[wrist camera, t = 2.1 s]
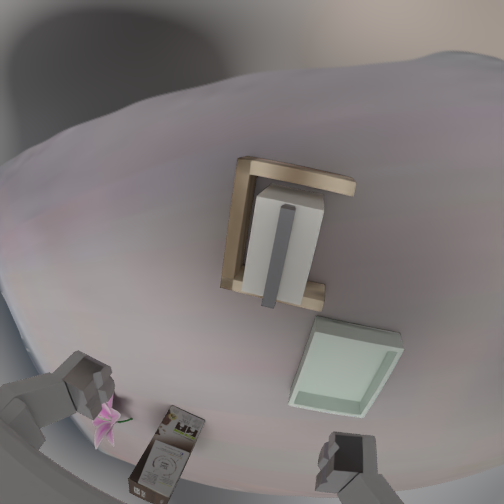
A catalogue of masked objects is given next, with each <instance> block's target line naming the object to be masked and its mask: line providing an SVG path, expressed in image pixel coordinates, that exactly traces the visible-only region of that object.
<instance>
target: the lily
mask: <svg viewBox="0 0 504 504" xmlns="http://www.w3.org/2000/svg"><path fill="white" fill-rule="evenodd" d="M113 393H114V392H113ZM112 403H113V395H112V397H111V399H110V400H109V401H108V402H106V404H105V403H103V404H102V411H101V412H100V413H99V414H98V416H97V417H96V418H95V420H93V421H92V424H93V425H94V426H95V427H96V431H95V449H97V448H98V446H99V444H100V442H101V441H102V439H103V438H104V437H105V436H106V438H107V440H108V441H109V442H110V444H111V445H112V446H114V438H113V428H112V427H113V425H114V424H115V423H122V422H126V421H129V420H132V418H131V419H128V420H124V421H117V420H118V419H119V418H120V416H121V414H120V413H119V412H118V411H116V410H114V409H113V408H112Z"/></svg>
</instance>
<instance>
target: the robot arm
mask: <svg viewBox="0 0 504 504" xmlns="http://www.w3.org/2000/svg"><path fill="white" fill-rule="evenodd" d="M111 374H112V370H111V367H110V366H108V365H106V364H104V363H102V362H100V361H98V360H96V359H94V358H92V357H90V356H89V355H87V354H85V353H83V352H81V351H79V350H78V351H75V352H74V353H73V354H72V355H71V356H70V357H69V358H68V359H67V360H66V361H65V362H64V363H63V364H61V365H60V366H59V367H58V368H57V369H56V370H55V371H54V372H53V373H52V374H51V373H50V372H49V373H45V374H42V375H38V376H34V377H30V378H26V379H23V380H19V381H15V382H11V383H7V384H3V385H2V386H1V387H0V504H127V503H124V502H122V501H120V500H118V499H116V498H114V497H112V496H110V495H109V494H107V493H105V492H103V491H101V490H99V489H97V488H96V487H94V486H92V485H90V484H88V483H87V482H85V481H84V480H82V479H80V478H79V477H77V476H75V475H74V474H72V473H71V472H69V471H67V470H66V469H64V468H63V467H61V466H60V465H58V464H57V463H56V462H54V461H53V460H51V459H50V458H48V457H47V456H45V455H44V454H43V453H41V452H40V451H39V449H40V447H41V446H42V445H43V443H44V442H45V441H46V440H45V436H44V435H43V433H42V432H41V430H40V428H42V427H45V426H47V425H50V424H52V423H54V422H56V421H59V420H61V419H63V418H66V417H68V416H70V415H72V414H74V413H76V411H77V412H79V413H80V414H82V415H84V416H86V417H88V418H90V419H92V420H95V418H96V417H97V416H98V414H99V413H100V412H101V411H102V404H103V403H106V402H108V401H109V400H110V399H111V397H112V395H113V392H114V389H115V384H114V380H113V379H112V377H111V376H110V375H111ZM318 467H319V468H320V470H321V471H320V472H319V473H318V475H317V476H316V486H315V491H319V492H328V493H337V495H338V497H339V499H340V501H341V503H342V504H404V503H403V502H402V500H401V499H400V498H399V496H398V495H397V494H396V493H395V491H394V490H393V489H392V487H391V486H390V485H389V483H388V482H387V481H386V479H385V478H384V477H383V475H382V474H378V468H377V451H376V438H375V437H374V436H371V435H360V434H352V433H343V432H332V433H331V434H330V436H329V442H326V443H325V444H324V445H323V447H322V449H321V451H320V454H319V459H318Z"/></svg>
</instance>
